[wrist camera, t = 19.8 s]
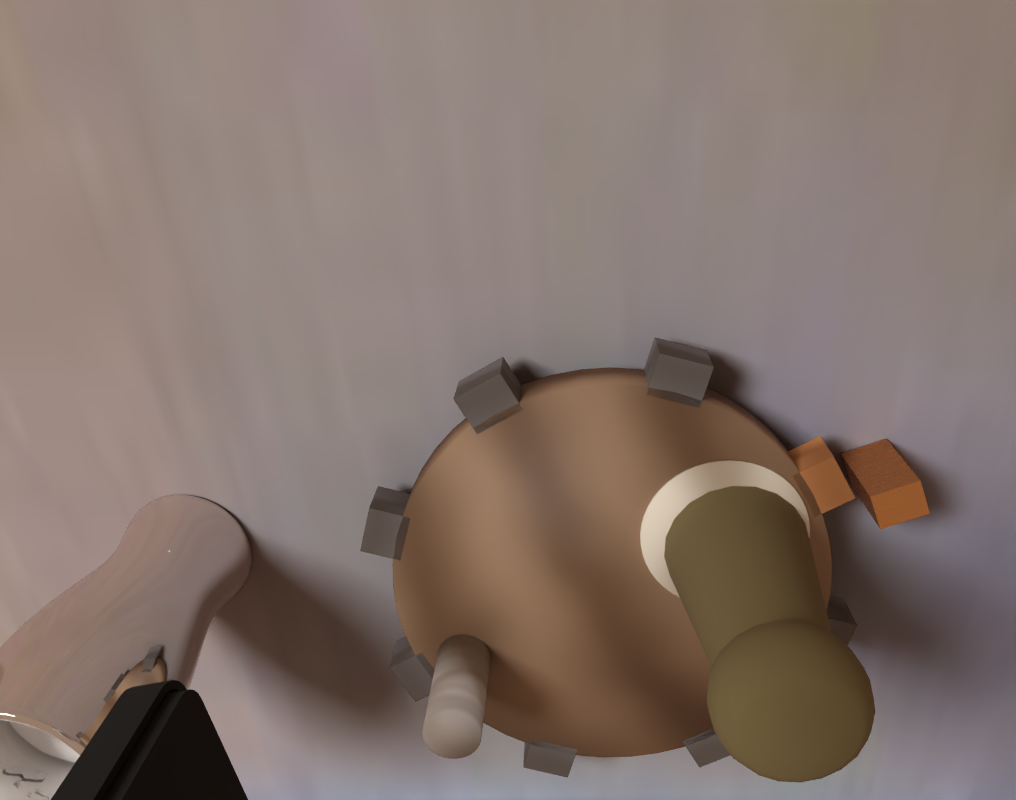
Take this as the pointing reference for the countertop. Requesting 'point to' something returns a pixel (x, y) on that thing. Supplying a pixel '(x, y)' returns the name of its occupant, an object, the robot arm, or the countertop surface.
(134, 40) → the countertop surface
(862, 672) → the cork
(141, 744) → the robot arm
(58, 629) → the beer glass
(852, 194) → the countertop surface
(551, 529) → the sprocket wheel
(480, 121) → the countertop surface
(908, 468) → the orange wooden block
